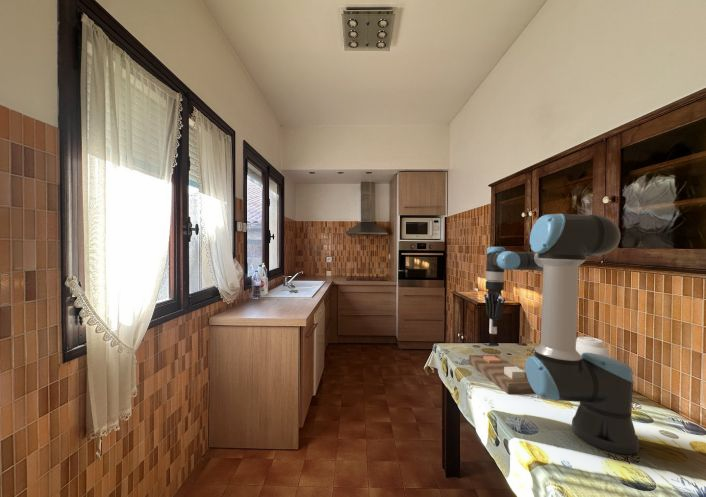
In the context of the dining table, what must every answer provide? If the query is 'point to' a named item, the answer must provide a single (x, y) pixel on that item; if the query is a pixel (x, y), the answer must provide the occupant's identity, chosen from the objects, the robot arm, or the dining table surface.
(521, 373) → the cream block
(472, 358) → the wooden board
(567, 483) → the dining table surface
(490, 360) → the orange block
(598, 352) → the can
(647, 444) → the dining table surface
